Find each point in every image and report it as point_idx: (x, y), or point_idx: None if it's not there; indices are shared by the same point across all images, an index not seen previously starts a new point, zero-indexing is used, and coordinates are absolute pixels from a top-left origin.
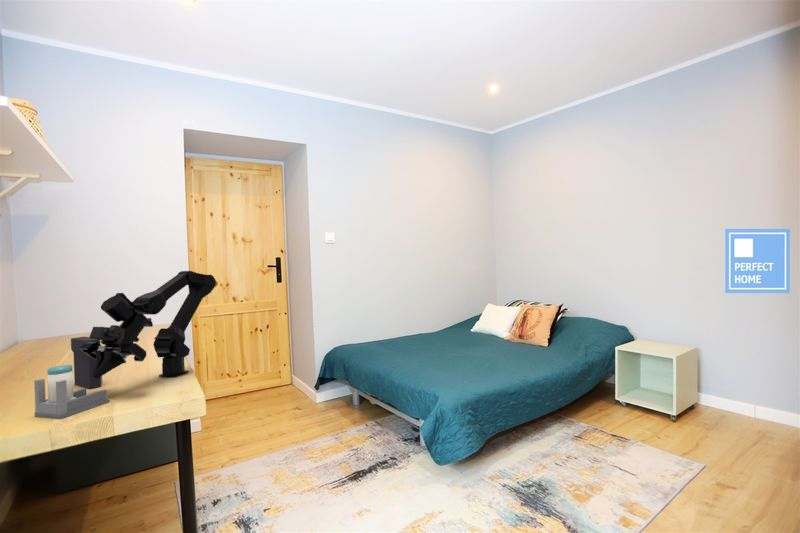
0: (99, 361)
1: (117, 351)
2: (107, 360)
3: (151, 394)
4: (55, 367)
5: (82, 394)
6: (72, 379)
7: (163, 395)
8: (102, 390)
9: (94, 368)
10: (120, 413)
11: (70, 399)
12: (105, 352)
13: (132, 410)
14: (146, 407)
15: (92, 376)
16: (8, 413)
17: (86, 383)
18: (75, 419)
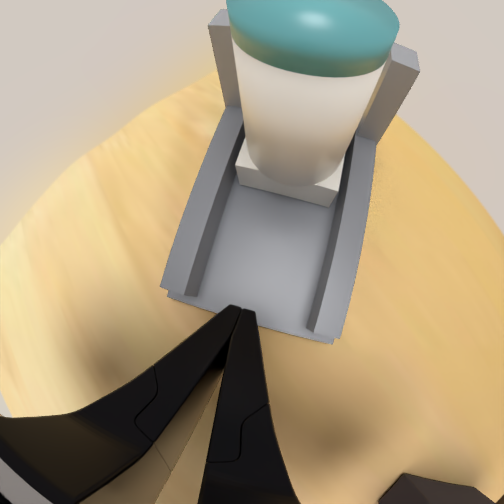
0: (218, 437)
1: (14, 495)
2: (94, 406)
3: (68, 368)
4: (358, 6)
5: (315, 308)
6: (245, 97)
7: (30, 340)
8: (174, 279)
9: (259, 371)
10: (73, 168)
11: (245, 140)
12: (59, 477)
13: (53, 192)
14: (30, 218)
15: (245, 309)
16: (478, 203)
17: (430, 485)
18: (181, 117)
